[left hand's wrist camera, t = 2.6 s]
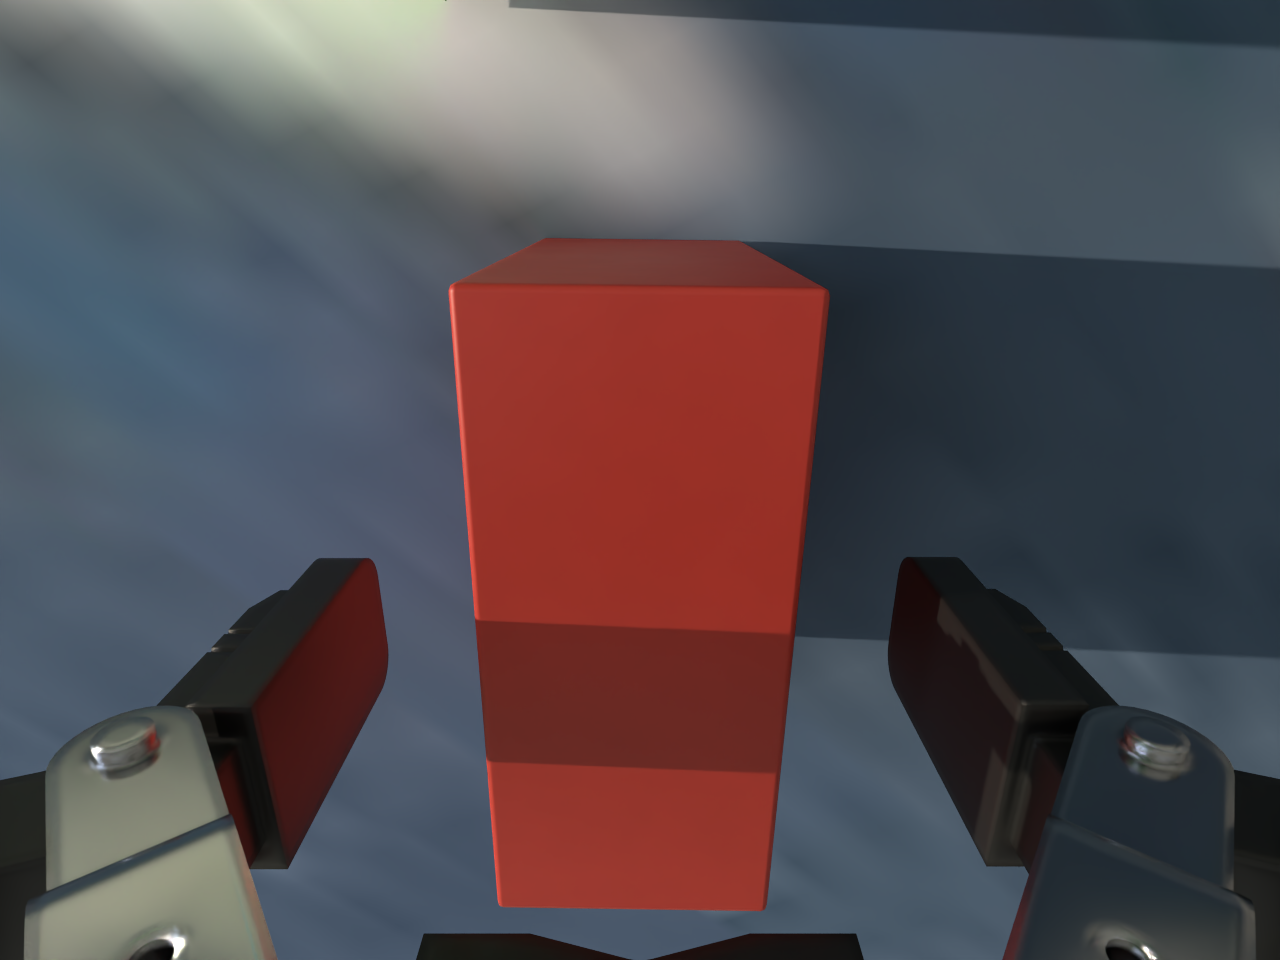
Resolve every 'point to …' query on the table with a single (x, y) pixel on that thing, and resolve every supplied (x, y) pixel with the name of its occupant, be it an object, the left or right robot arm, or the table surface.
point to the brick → (636, 559)
